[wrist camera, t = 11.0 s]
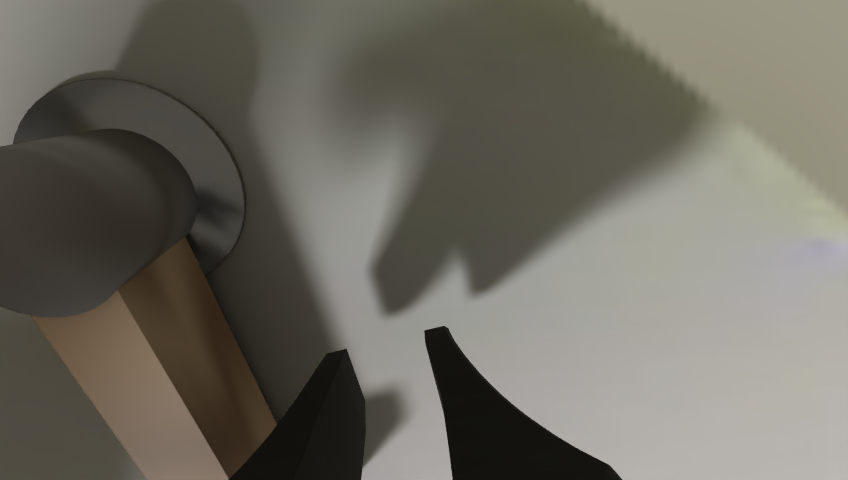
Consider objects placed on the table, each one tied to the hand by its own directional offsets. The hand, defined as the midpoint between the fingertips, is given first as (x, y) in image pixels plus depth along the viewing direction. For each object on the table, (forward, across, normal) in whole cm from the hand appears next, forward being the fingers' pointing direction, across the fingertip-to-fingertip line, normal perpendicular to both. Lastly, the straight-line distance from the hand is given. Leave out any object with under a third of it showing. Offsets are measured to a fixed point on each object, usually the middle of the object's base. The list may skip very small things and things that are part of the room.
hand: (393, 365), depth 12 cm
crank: (+2, +6, -1) cm, 6 cm away
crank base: (+2, +6, -6) cm, 9 cm away
